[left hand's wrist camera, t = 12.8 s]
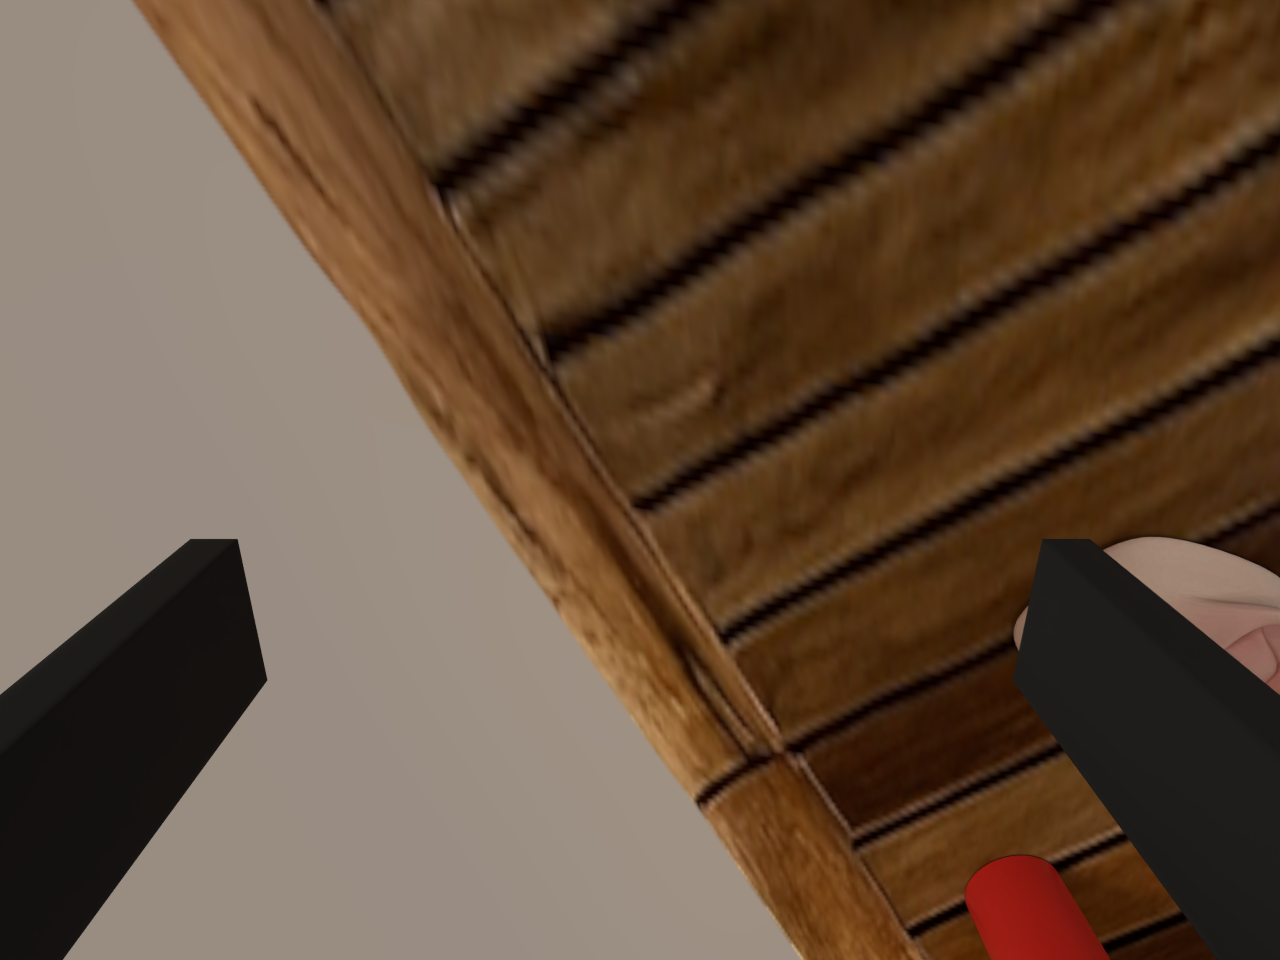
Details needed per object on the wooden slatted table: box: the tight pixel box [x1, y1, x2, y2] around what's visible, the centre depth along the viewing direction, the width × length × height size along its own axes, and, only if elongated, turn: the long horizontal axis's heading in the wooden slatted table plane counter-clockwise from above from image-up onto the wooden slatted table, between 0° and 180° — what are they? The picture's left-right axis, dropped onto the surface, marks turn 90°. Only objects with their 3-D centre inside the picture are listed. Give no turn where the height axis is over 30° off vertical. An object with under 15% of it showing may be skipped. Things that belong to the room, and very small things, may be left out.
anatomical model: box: [1014, 537, 1280, 695], centre depth 39 cm, size 13×4×12 cm
